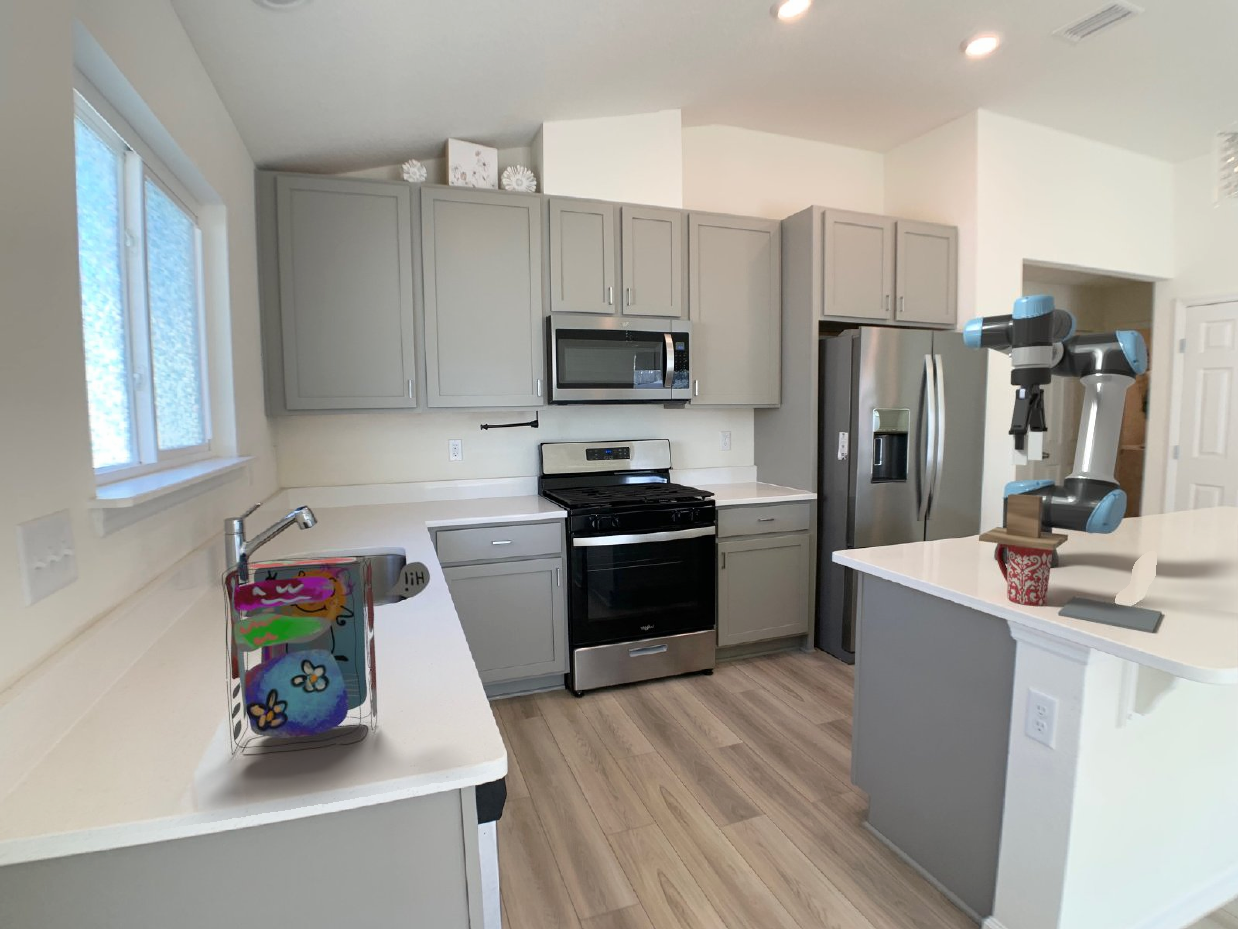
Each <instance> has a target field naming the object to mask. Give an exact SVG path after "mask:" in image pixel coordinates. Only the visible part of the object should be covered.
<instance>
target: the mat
mask: <svg viewBox="0 0 1238 929" xmlns="http://www.w3.org/2000/svg"><path fill="white" fill-rule="evenodd" d="M1162 612H1163V611H1160V610H1154V609H1149V608H1142V607H1138V606H1137V607H1136V606H1132V605H1131V606H1130V605H1124V604H1118V603H1113V602H1107V601H1101V600H1095V599H1090V598H1083V597H1078V596H1072V597H1071V599H1069V600H1068V602H1066V604H1064V605H1063V607H1062V608H1061V609H1060V610H1059V611H1058V612H1057V613H1058V616H1061V617H1067V618H1072V619H1078V620H1082V621H1087V622H1094V623H1098V624H1104V625H1109V626H1113V627H1117V628H1118V627H1120V628H1125V629H1130V630H1135V631H1141V632H1144V633H1151V634H1153V633H1155V632H1154V631H1155V629H1156V627H1157V625H1158V623H1159V620H1160V618H1161V617H1162Z"/></svg>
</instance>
